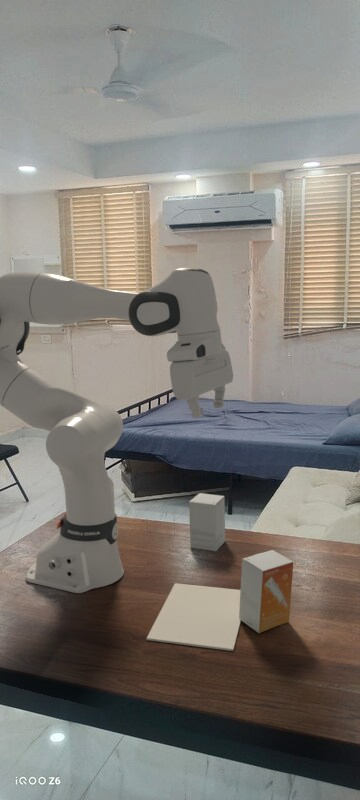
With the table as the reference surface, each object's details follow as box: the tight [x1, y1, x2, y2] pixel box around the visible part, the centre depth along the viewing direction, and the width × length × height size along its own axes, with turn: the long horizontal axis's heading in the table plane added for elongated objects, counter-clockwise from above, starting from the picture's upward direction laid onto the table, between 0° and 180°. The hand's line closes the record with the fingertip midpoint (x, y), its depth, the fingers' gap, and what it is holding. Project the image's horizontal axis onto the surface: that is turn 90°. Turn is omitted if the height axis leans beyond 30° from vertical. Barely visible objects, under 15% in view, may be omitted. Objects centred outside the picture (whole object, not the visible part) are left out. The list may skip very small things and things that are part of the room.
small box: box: [239, 549, 294, 634], centre depth 115 cm, size 8×6×13 cm
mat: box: [146, 582, 242, 652], centre depth 119 cm, size 16×22×1 cm
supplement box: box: [188, 492, 226, 552], centre depth 152 cm, size 7×7×13 cm
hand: (208, 412), depth 123 cm, fingers open, 8 cm apart
